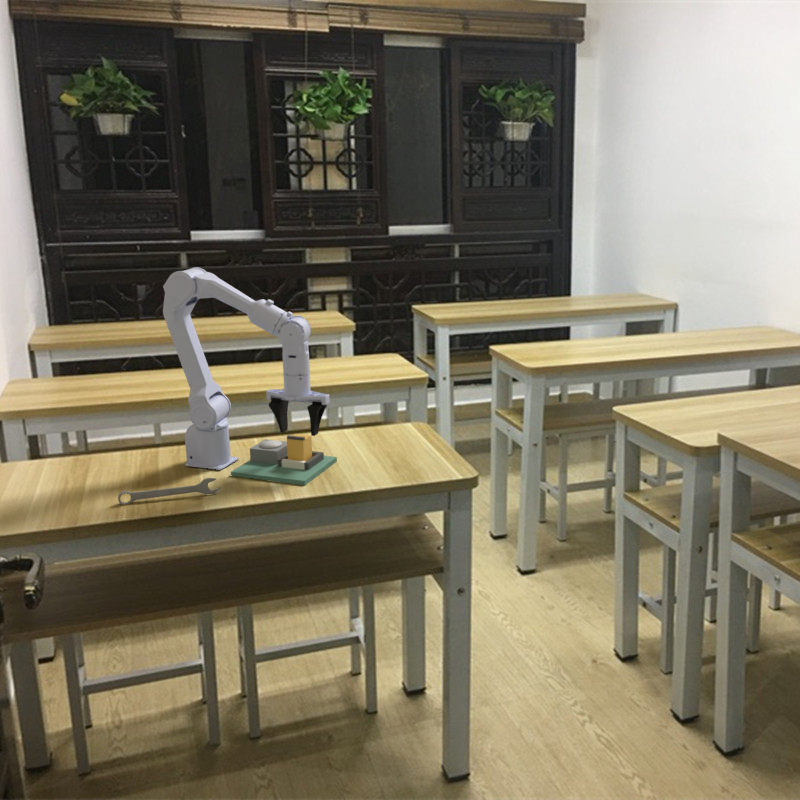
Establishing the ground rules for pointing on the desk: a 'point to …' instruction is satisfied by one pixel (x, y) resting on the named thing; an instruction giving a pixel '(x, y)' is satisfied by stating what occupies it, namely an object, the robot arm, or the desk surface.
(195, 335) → the robot arm
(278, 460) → the board
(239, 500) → the desk surface
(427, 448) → the desk surface
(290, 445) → the plug
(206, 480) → the combination wrench
